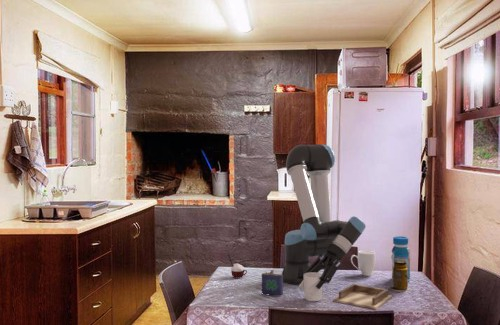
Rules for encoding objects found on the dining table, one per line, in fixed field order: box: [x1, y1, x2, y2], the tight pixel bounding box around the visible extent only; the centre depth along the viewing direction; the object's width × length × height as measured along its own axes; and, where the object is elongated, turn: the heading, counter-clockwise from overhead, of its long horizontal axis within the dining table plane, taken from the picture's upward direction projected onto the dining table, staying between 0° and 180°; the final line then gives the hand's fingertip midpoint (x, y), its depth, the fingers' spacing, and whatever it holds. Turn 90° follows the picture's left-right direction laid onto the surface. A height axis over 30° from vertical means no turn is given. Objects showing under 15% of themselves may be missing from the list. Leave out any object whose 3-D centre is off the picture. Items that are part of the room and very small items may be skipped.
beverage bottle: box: [390, 235, 411, 282], centre depth 215 cm, size 8×8×20 cm
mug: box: [350, 249, 376, 277], centre depth 224 cm, size 12×8×11 cm
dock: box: [332, 283, 393, 310], centre depth 186 cm, size 18×18×3 cm
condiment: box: [386, 260, 412, 293], centre depth 201 cm, size 7×8×12 cm
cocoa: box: [226, 252, 248, 278], centre depth 223 cm, size 10×6×12 cm, turn 82°
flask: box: [261, 269, 284, 295], centre depth 194 cm, size 9×3×11 cm, turn 74°
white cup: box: [303, 272, 323, 302], centre depth 188 cm, size 8×8×10 cm
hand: (306, 291), depth 186 cm, fingers closed on white cup, 8 cm apart
